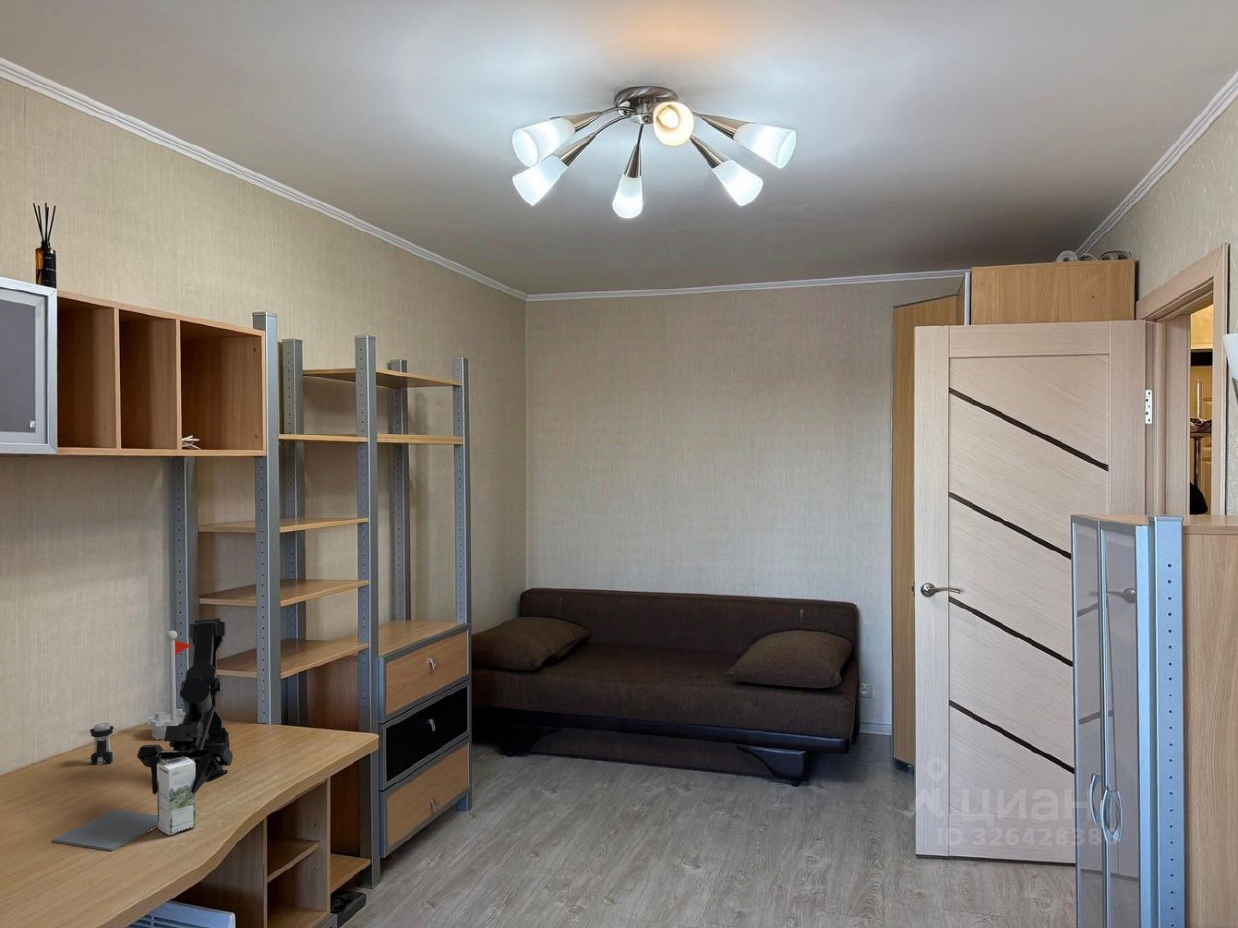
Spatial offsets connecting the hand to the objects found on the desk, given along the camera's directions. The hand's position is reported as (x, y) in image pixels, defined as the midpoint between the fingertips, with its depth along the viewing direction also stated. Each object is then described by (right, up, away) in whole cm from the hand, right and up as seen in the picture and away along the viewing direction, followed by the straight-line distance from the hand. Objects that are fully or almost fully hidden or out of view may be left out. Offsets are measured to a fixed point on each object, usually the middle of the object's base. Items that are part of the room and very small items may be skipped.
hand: (173, 793), depth 189 cm
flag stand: (-34, -8, +67) cm, 76 cm away
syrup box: (0, -8, +2) cm, 8 cm away
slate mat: (-13, -9, +1) cm, 16 cm away
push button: (-41, -8, +44) cm, 61 cm away
